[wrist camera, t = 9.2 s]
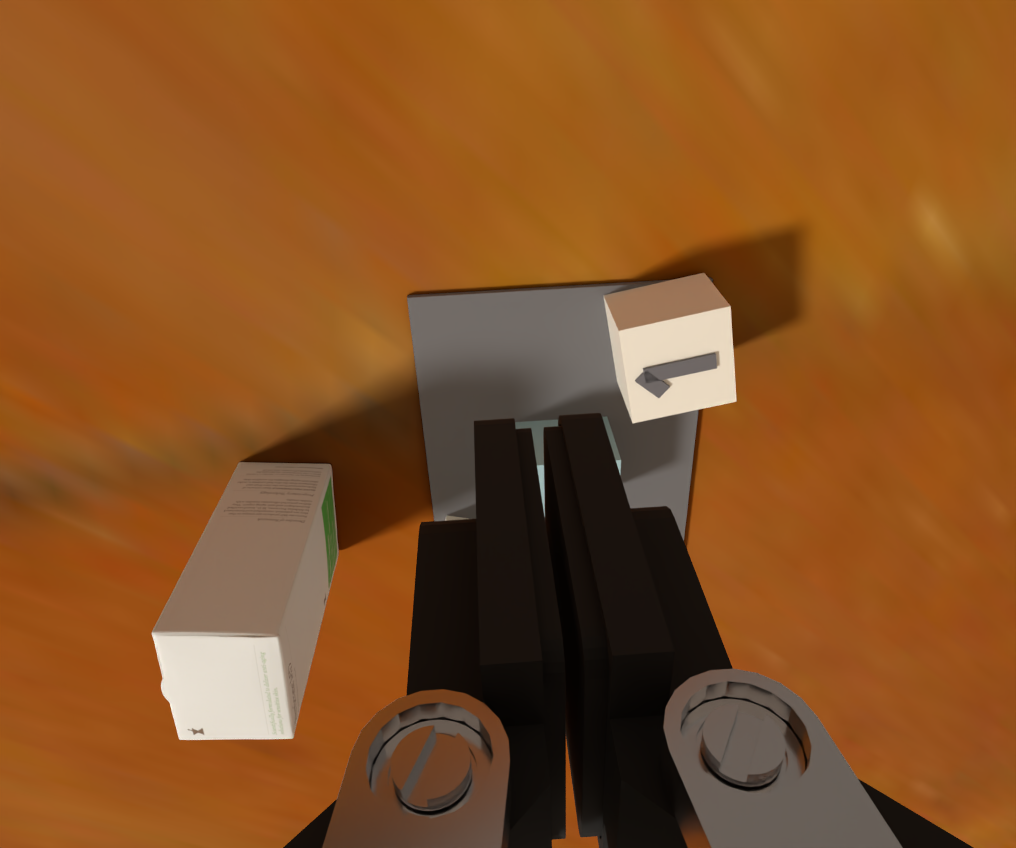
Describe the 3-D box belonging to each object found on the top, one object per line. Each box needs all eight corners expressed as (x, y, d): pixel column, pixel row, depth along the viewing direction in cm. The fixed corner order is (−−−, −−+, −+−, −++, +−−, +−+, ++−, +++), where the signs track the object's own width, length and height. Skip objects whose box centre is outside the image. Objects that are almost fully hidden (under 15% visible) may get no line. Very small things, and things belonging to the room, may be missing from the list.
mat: (711, 277, 44) (713, 279, 43) (678, 575, 56) (679, 579, 56) (407, 295, 43) (407, 297, 43) (443, 591, 56) (443, 595, 56)
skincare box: (339, 553, 54) (299, 745, 40) (246, 551, 53) (175, 746, 40) (332, 457, 49) (284, 638, 36) (230, 455, 49) (144, 638, 35)
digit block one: (704, 272, 43) (731, 307, 39) (711, 361, 46) (737, 403, 42) (603, 295, 44) (619, 332, 39) (617, 381, 47) (633, 425, 42)
